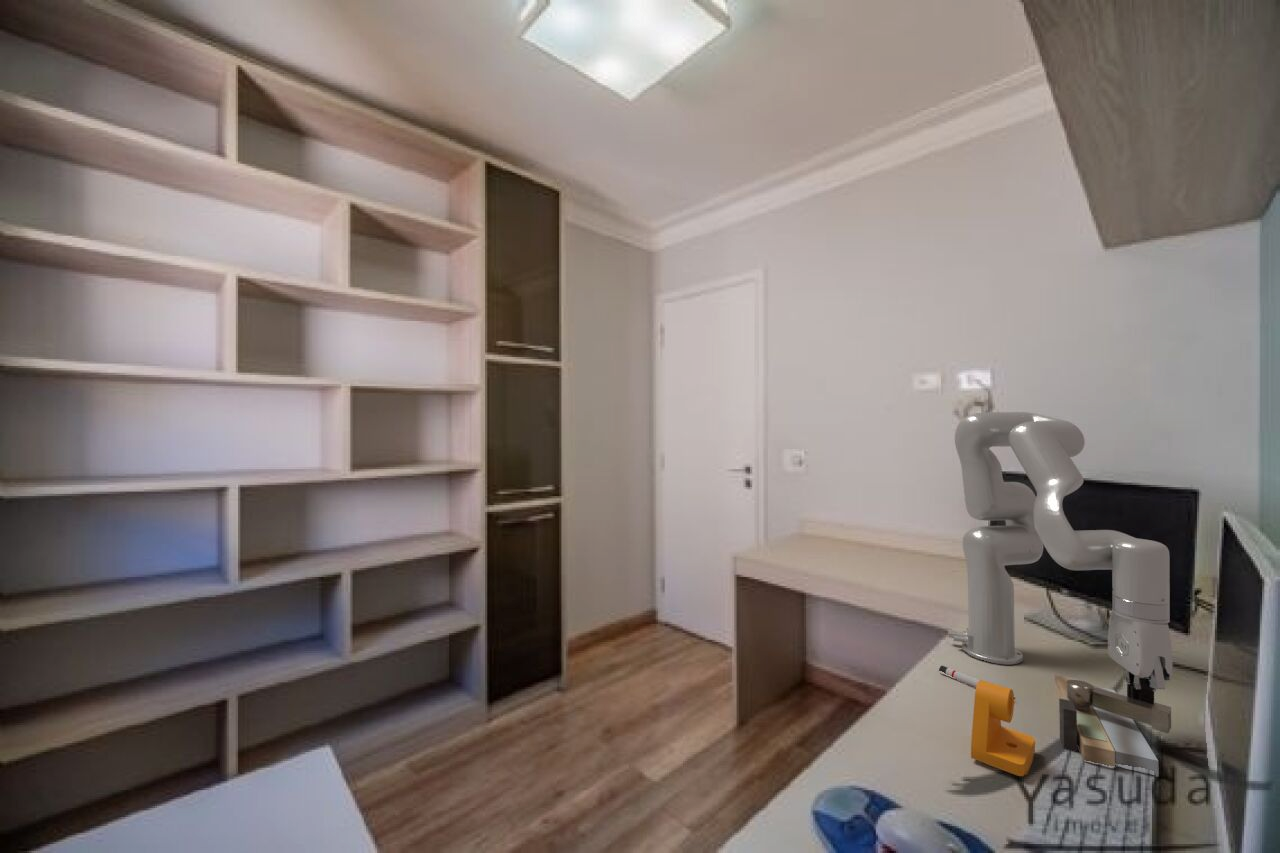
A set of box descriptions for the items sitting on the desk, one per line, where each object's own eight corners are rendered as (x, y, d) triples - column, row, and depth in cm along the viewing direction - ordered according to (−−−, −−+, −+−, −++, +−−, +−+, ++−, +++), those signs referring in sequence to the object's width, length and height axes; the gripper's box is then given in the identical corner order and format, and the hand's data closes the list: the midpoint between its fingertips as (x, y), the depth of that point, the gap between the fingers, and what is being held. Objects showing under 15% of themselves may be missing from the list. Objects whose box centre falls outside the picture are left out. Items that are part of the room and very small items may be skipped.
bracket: (1023, 783, 84) (1022, 708, 84) (971, 762, 89) (970, 691, 89) (1036, 753, 91) (1035, 684, 91) (987, 735, 96) (986, 670, 96)
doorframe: (1067, 757, 89) (1066, 717, 89) (1042, 686, 114) (1041, 654, 114) (1160, 780, 83) (1160, 736, 84) (1113, 700, 108) (1112, 666, 108)
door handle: (1064, 701, 100) (1064, 682, 100) (1070, 694, 102) (1070, 676, 102) (1167, 735, 89) (1167, 713, 89) (1171, 726, 91) (1171, 705, 91)
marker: (939, 675, 120) (938, 666, 120) (943, 673, 121) (943, 664, 121) (1013, 705, 107) (1013, 695, 107) (1018, 703, 108) (1018, 693, 108)
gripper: (1091, 593, 103) (1092, 685, 103) (1142, 621, 89) (1143, 729, 89) (1138, 596, 101) (1138, 690, 101) (1197, 625, 87) (1197, 735, 87)
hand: (1140, 708), depth 95 cm, fingers closed
